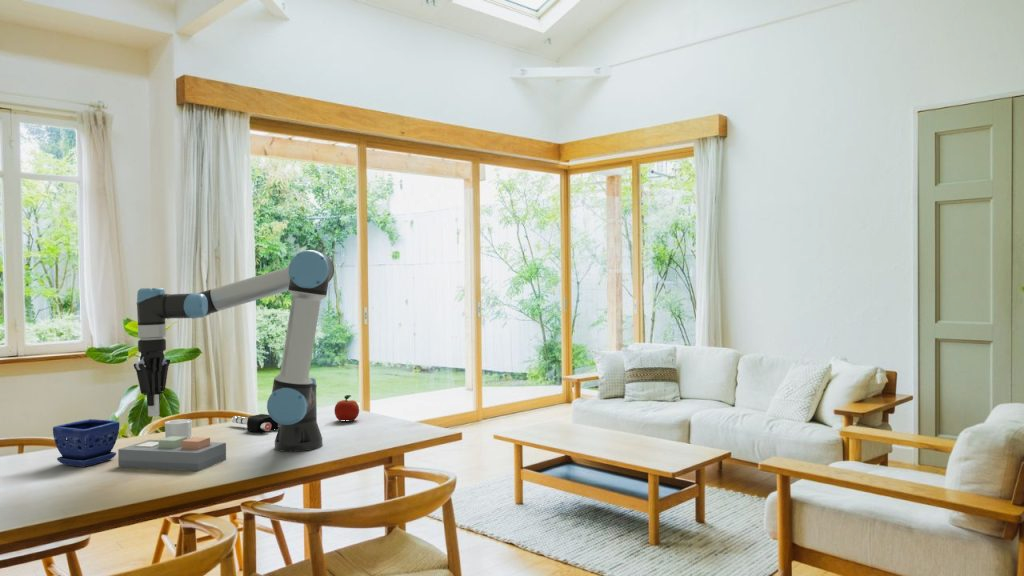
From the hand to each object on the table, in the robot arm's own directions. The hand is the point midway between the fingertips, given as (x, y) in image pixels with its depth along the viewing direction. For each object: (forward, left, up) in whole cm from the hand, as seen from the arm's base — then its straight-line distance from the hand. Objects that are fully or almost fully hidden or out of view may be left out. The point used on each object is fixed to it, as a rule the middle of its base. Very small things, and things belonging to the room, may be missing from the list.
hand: (153, 415), depth 210 cm
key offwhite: (+1, 0, -12) cm, 12 cm away
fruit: (-30, -69, -14) cm, 77 cm away
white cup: (+1, -12, -14) cm, 19 cm away
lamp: (-1, -50, -14) cm, 52 cm away
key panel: (-7, 0, -14) cm, 16 cm away
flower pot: (+21, +3, -14) cm, 26 cm away
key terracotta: (-15, 0, -10) cm, 18 cm away
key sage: (-7, 0, -10) cm, 12 cm away
